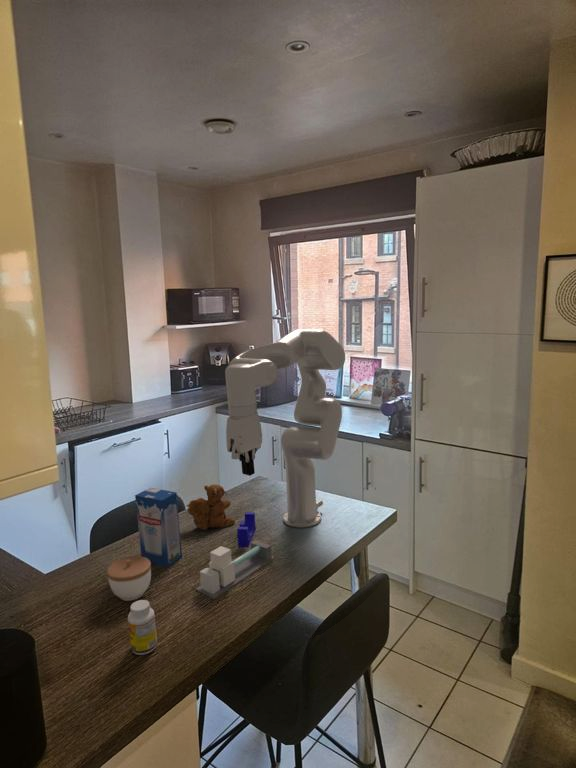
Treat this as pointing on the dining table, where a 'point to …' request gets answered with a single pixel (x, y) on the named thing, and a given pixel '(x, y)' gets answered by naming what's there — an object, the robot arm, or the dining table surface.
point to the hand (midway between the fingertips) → (248, 473)
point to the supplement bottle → (142, 628)
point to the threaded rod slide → (236, 569)
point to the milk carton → (159, 526)
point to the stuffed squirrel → (210, 509)
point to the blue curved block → (246, 530)
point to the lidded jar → (129, 577)
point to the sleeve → (223, 565)
